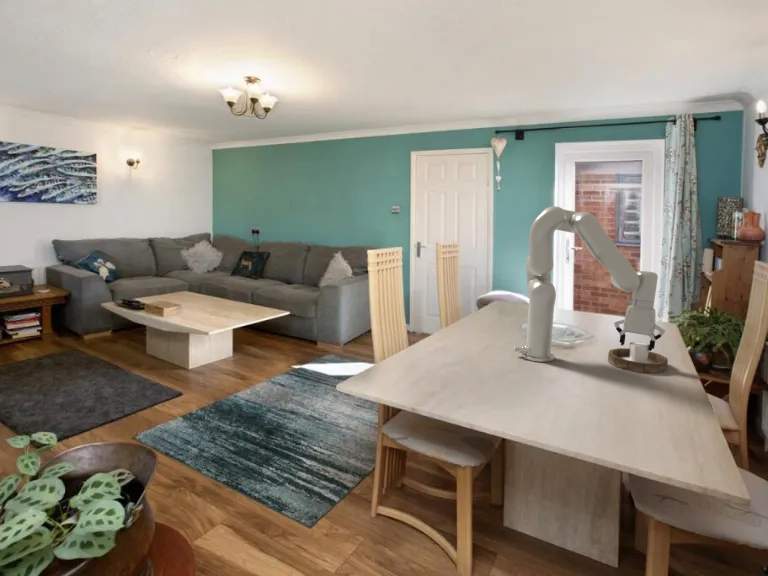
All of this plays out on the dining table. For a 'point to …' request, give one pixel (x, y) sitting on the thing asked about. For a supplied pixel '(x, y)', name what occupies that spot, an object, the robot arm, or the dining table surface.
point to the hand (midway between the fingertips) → (636, 347)
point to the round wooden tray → (622, 360)
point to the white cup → (639, 352)
